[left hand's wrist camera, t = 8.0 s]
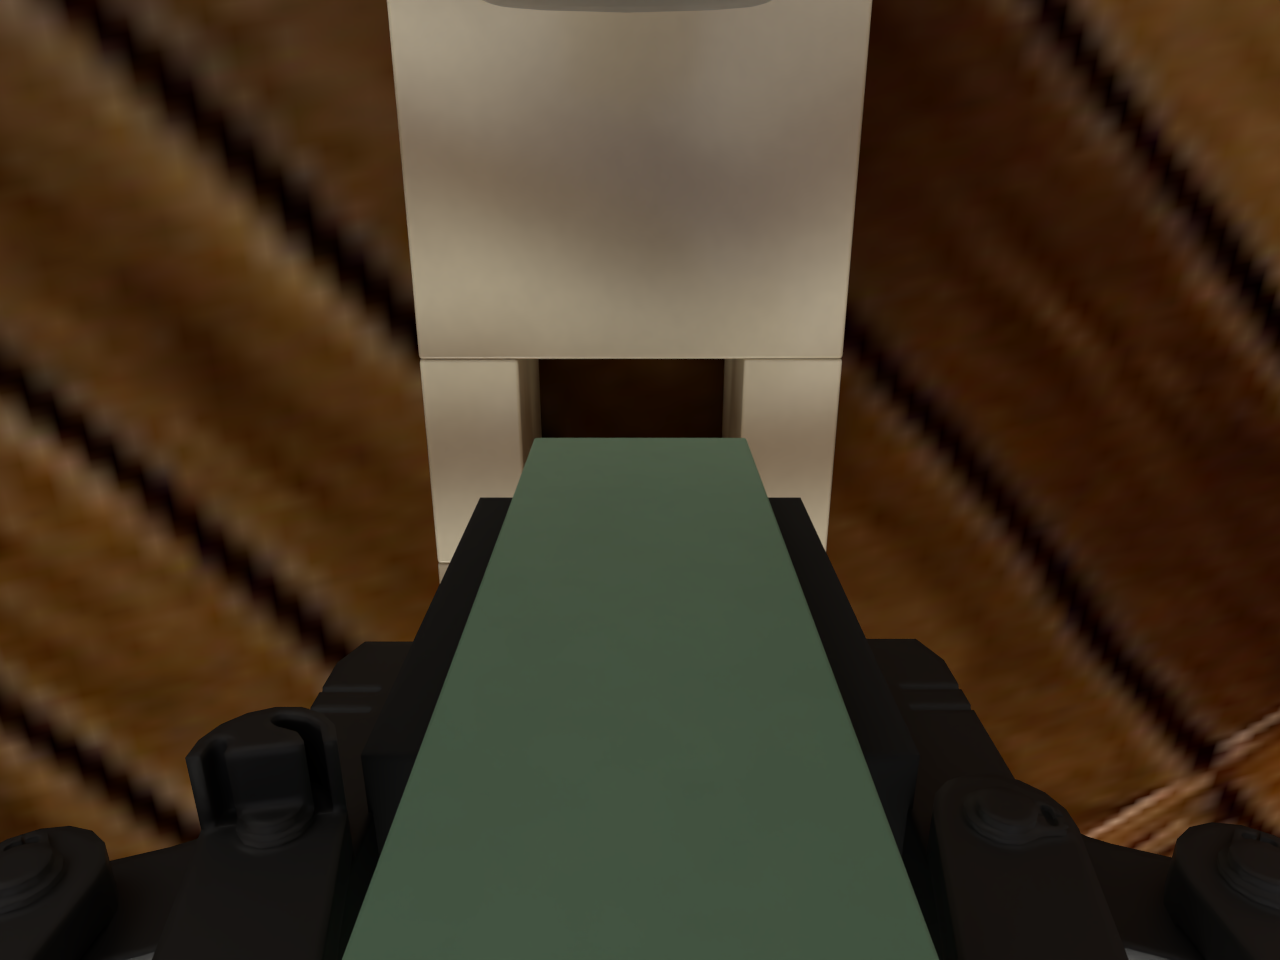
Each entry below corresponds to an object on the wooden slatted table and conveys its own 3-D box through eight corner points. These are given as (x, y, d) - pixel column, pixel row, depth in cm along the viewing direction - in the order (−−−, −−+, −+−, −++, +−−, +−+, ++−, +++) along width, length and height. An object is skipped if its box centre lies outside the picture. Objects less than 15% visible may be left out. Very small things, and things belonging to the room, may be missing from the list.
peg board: (789, 582, 25) (884, 843, 15) (474, 583, 25) (377, 846, 15) (878, -710, 16) (1243, -1996, 6) (377, -714, 16) (-11, -2017, 6)
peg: (542, 623, 17) (347, 1565, 6) (534, 436, 15) (255, 1183, 4) (738, 623, 17) (934, 1567, 6) (746, 436, 16) (1026, 1183, 4)
